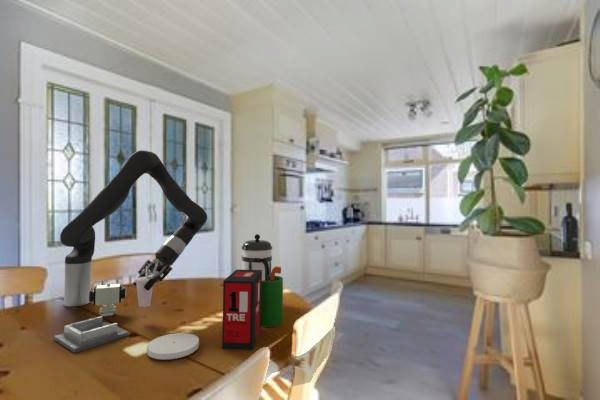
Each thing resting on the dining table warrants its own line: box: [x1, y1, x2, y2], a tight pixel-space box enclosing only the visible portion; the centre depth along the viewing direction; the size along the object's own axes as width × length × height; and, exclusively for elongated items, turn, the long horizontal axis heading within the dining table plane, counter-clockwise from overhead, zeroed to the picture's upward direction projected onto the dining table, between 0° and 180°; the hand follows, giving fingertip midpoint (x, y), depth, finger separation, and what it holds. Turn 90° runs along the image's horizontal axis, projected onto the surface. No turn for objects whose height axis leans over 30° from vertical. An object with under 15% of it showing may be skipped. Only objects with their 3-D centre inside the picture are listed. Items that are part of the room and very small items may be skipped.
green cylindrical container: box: [261, 266, 284, 328], centre depth 117 cm, size 10×9×20 cm
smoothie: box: [134, 266, 154, 308], centre depth 115 cm, size 6×6×14 cm
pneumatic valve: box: [89, 282, 127, 318], centre depth 121 cm, size 6×12×12 cm, turn 115°
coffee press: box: [241, 233, 273, 281], centre depth 133 cm, size 17×16×30 cm
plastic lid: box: [146, 332, 200, 360], centre depth 93 cm, size 14×14×2 cm
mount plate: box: [53, 315, 129, 354], centre depth 100 cm, size 15×15×4 cm
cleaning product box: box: [221, 269, 262, 351], centre depth 102 cm, size 16×9×20 cm, turn 178°
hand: (140, 287), depth 113 cm, fingers closed on smoothie, 6 cm apart
